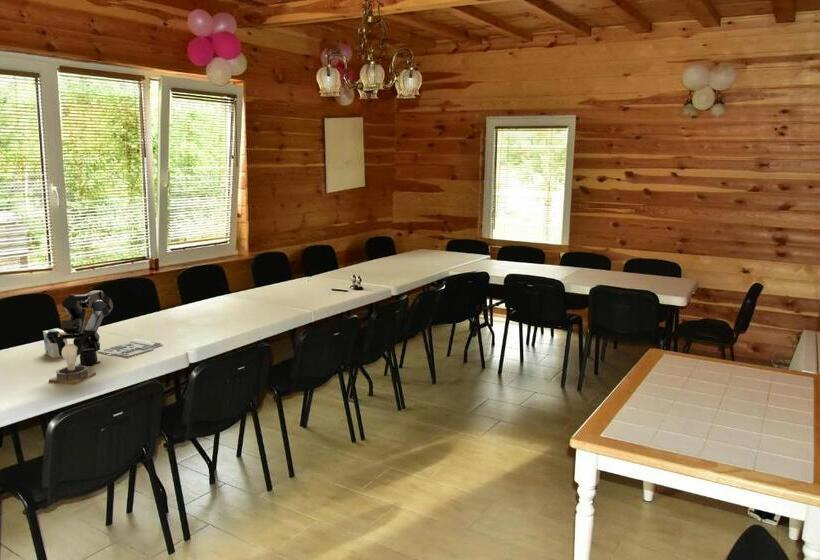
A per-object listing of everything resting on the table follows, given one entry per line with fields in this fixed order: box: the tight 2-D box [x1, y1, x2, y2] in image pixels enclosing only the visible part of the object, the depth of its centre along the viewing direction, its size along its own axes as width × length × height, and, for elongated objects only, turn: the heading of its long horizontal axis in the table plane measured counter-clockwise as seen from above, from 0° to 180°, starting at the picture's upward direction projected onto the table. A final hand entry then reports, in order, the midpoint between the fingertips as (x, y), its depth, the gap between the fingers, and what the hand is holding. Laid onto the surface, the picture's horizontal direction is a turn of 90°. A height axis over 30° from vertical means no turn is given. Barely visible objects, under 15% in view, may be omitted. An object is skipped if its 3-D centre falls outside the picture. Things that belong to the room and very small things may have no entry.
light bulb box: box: [42, 327, 68, 359], centre depth 292 cm, size 11×7×11 cm, turn 47°
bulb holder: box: [48, 364, 97, 385], centre depth 260 cm, size 12×12×4 cm
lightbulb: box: [61, 343, 79, 371], centre depth 258 cm, size 6×6×11 cm
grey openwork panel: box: [96, 338, 164, 359], centre depth 299 cm, size 23×3×20 cm
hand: (69, 355), depth 257 cm, fingers closed on lightbulb, 6 cm apart
